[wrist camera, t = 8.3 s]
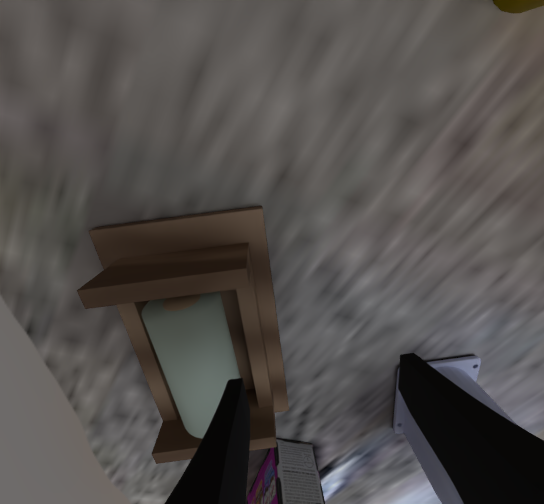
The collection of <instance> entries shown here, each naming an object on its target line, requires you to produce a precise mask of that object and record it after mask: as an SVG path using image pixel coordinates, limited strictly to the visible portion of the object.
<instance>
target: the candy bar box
mask: <svg viewBox="0 0 544 504" xmlns="http://www.w3.org/2000/svg"><path fill="white" fill-rule="evenodd" d="M276 443H277V447H273V448H270V449H269V451H268V453H267V455H266V458H265V460H264V462H263V464H262V467H261V469H260V471H259V473H258V475H257V477H256V480H255V482H254V484H253V486H252V488H251V490H250V492H249V495H248V497H247V504H325V501H324V496H323V491H322V486H321V481H320V477H319V472H318V467H317V462H316V457H315V453H314V448H313V445H312V444H309V443H305V442H297V441H289V440H283V439H276Z"/></svg>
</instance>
